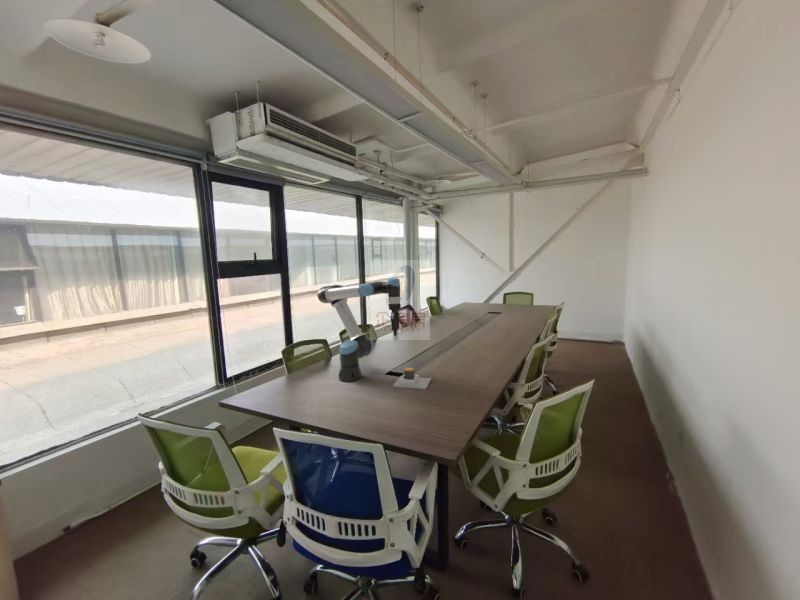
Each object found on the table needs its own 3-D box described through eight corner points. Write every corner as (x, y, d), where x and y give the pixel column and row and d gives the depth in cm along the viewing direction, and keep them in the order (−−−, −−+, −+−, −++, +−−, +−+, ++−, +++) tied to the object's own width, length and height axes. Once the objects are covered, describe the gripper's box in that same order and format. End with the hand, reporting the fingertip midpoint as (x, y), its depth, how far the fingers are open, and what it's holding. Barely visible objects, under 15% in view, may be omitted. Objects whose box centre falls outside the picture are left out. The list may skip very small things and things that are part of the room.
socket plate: (392, 386, 199) (392, 380, 198) (400, 377, 214) (400, 371, 213) (425, 389, 193) (425, 382, 192) (431, 379, 208) (431, 373, 208)
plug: (404, 382, 203) (404, 369, 202) (406, 380, 206) (406, 367, 205) (412, 382, 201) (412, 370, 200) (414, 380, 205) (413, 367, 204)
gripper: (397, 304, 201) (398, 342, 204) (403, 301, 214) (404, 338, 217) (385, 304, 204) (387, 342, 206) (392, 301, 216) (393, 337, 219)
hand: (396, 340), depth 212 cm, fingers closed
